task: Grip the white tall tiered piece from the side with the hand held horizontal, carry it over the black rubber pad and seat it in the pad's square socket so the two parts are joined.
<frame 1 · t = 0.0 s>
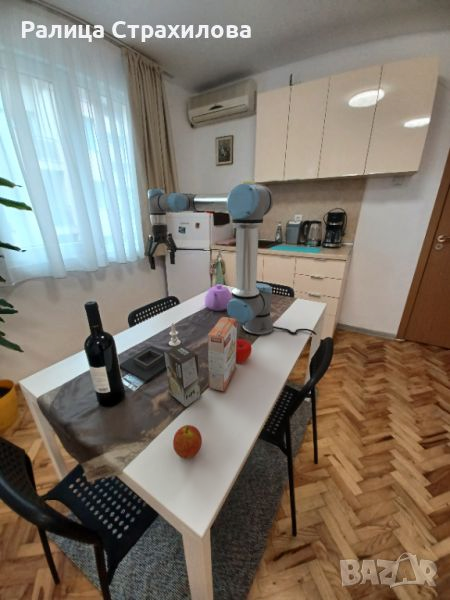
hand: (163, 266, 124), 28 cm above the table, tool pointing down, fingers open, 13 cm apart
apple: (240, 360, 95), on the table
fruit: (188, 451, 60), on the table
white tall tiered piece: (174, 343, 107), on the table
coffee box: (184, 395, 78), on the table
socket pad: (149, 363, 94), on the table
cracker box: (223, 377, 86), on the table
teapot: (218, 307, 146), on the table
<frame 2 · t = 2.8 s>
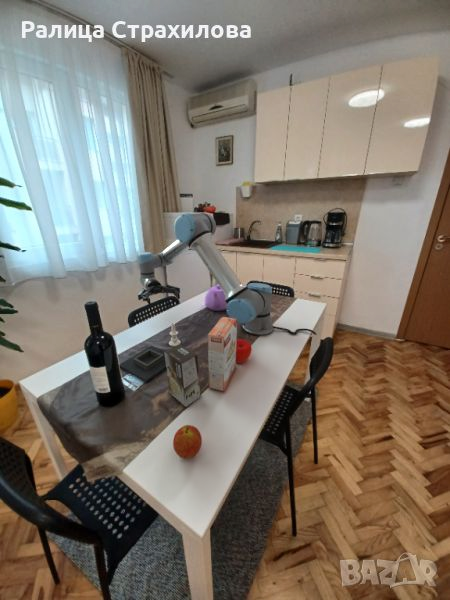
hand: (164, 298, 108), 18 cm above the table, tool horizontal, fingers open, 13 cm apart
nothing on the table moved.
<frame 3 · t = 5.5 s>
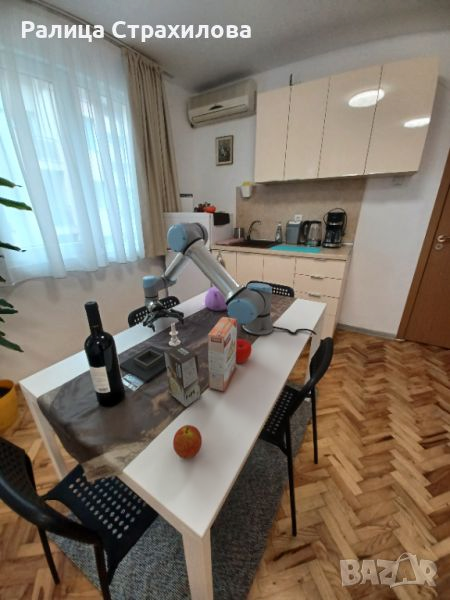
hand: (169, 325, 110), 6 cm above the table, tool horizontal, fingers open, 13 cm apart
nothing on the table moved.
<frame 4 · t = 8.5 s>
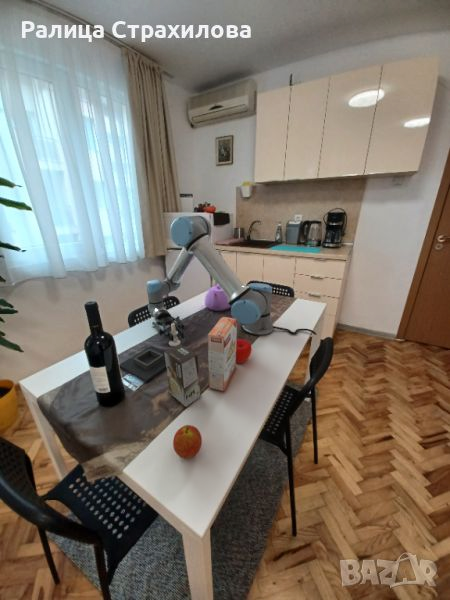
hand: (177, 337, 100), 6 cm above the table, tool horizontal, fingers closed on white tall tiered piece, 4 cm apart
white tall tiered piece: (174, 343, 107), on the table, touching gripper
everything else where it was.
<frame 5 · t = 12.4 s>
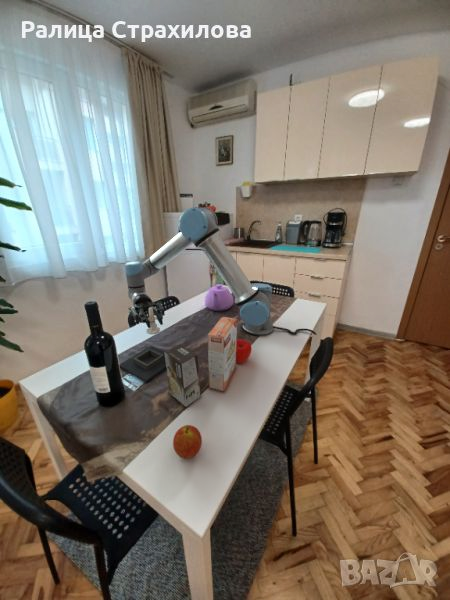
hand: (155, 322, 86), 18 cm above the table, tool horizontal, fingers closed on white tall tiered piece, 4 cm apart
white tall tiered piece: (153, 331, 93), point 12 cm above the table, touching gripper
everything else where it was.
when the fingers open (7 cm above the table, at t = 16.3 s): white tall tiered piece stays where it is, resting on socket pad.
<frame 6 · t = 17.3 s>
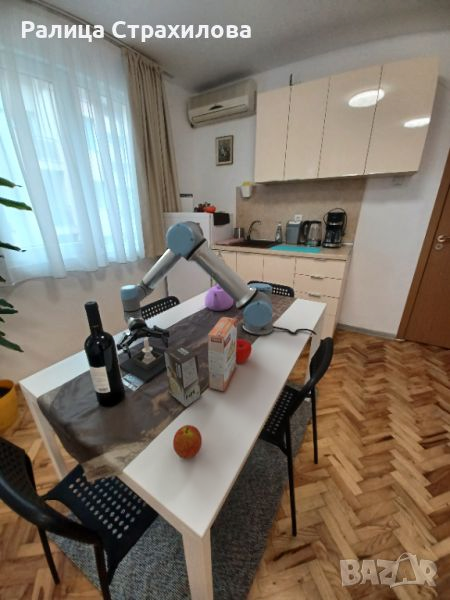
hand: (149, 350, 88), 8 cm above the table, tool horizontal, fingers open, 13 cm apart
white tall tiered piece: (149, 361, 93), point 1 cm above the table, touching socket pad
everything else where it was.
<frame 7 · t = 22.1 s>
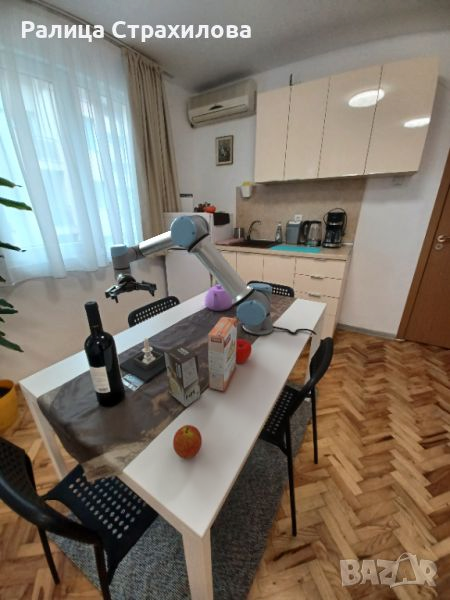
hand: (135, 296, 92), 25 cm above the table, tool horizontal, fingers open, 13 cm apart
nothing on the table moved.
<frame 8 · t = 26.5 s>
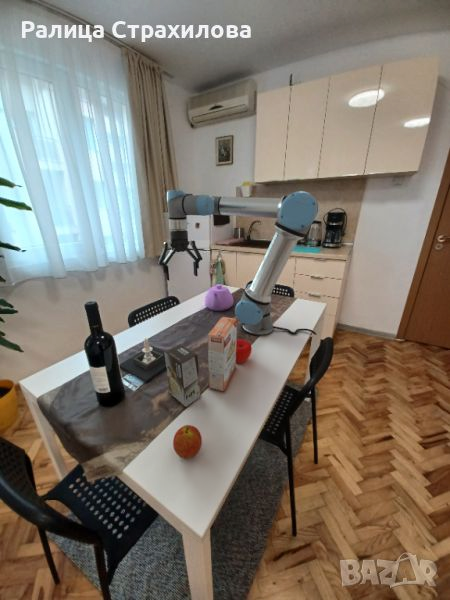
hand: (182, 277, 110), 27 cm above the table, tool pointing down, fingers open, 13 cm apart
nothing on the table moved.
at the end: white tall tiered piece 0.1 cm off-centre on the socket pad, point 0.8 cm above the socket pad's base; white tall tiered piece tilted 0°; the gripper is holding nothing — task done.
